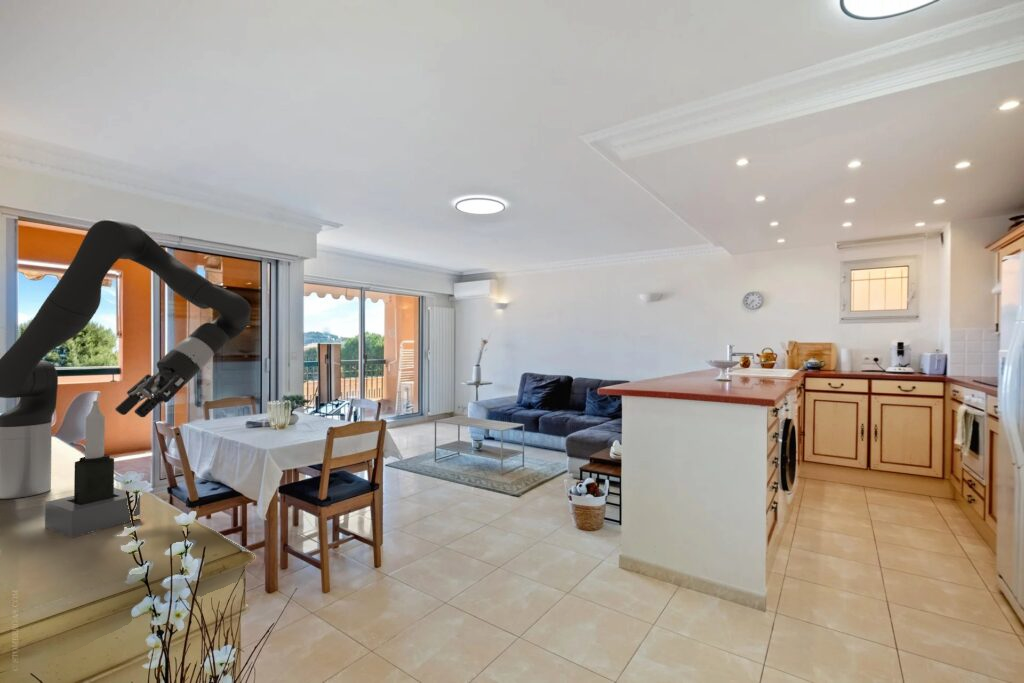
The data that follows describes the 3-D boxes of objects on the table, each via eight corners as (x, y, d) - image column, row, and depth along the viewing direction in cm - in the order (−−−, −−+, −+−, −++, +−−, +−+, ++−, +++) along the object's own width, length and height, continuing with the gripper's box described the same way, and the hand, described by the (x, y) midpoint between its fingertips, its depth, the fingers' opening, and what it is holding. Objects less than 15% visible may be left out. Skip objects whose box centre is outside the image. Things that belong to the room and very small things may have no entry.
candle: (116, 519, 97) (117, 399, 97) (86, 528, 92) (88, 402, 93) (100, 517, 99) (102, 399, 99) (71, 525, 94) (72, 401, 94)
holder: (44, 526, 93) (45, 501, 93) (112, 510, 103) (112, 487, 103) (71, 537, 88) (71, 511, 88) (139, 518, 97) (140, 494, 97)
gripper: (158, 349, 112) (98, 401, 102) (190, 348, 106) (130, 404, 95) (182, 370, 117) (127, 422, 106) (215, 370, 110) (159, 426, 100)
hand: (128, 413), depth 101 cm, fingers open, 8 cm apart
